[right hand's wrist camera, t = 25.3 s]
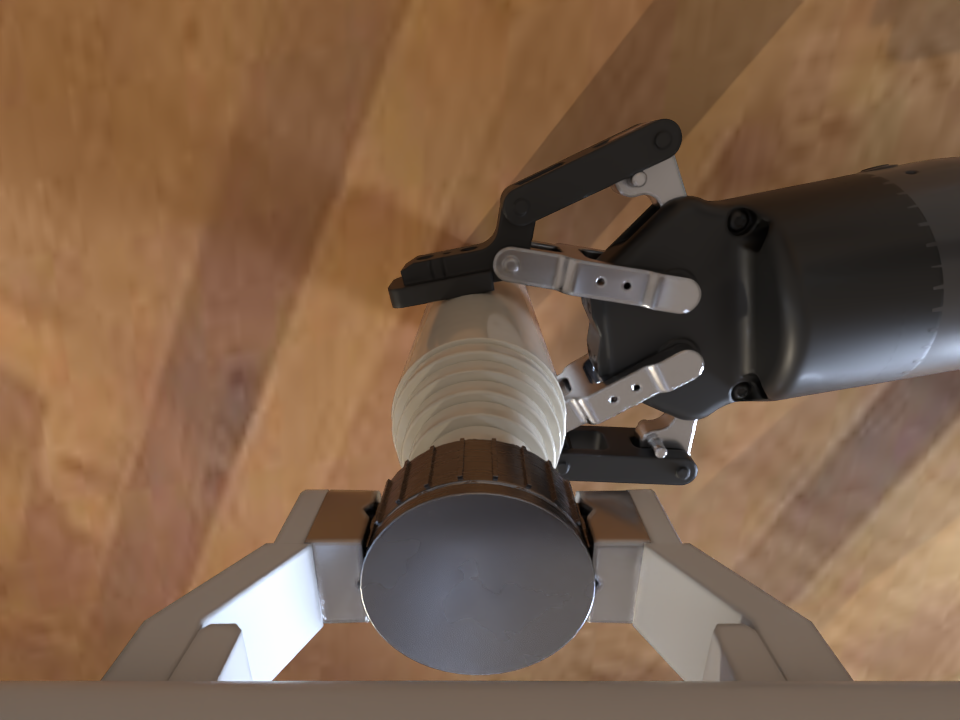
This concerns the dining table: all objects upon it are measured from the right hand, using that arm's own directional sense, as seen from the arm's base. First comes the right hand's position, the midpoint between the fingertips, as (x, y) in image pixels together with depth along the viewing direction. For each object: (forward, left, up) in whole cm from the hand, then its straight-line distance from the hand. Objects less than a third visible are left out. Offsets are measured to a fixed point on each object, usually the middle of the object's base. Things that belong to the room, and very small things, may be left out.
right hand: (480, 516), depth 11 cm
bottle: (0, 0, -17) cm, 17 cm away
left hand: (+1, +2, -10) cm, 10 cm away
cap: (0, 0, +2) cm, 2 cm away
